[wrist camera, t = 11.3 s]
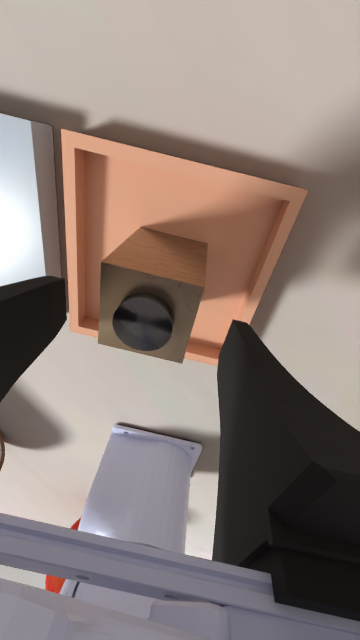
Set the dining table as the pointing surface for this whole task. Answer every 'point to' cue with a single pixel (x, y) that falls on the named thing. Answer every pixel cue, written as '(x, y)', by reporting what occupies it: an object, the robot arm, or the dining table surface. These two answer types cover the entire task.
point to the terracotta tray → (172, 228)
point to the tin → (2, 451)
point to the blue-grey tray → (27, 201)
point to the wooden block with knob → (151, 293)
